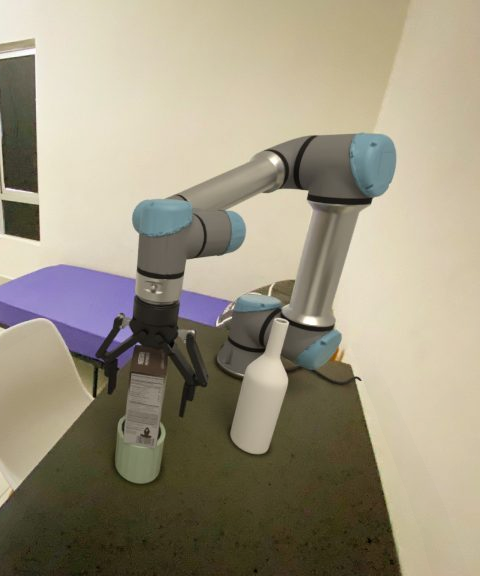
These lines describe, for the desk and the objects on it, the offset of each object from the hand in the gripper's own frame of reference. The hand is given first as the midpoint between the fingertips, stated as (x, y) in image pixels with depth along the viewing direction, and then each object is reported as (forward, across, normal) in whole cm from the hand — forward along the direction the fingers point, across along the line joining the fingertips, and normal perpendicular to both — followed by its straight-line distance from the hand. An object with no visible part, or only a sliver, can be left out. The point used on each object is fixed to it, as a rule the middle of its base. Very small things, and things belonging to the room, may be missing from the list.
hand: (145, 401), depth 62 cm
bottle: (+16, +21, +17) cm, 31 cm away
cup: (+15, 0, 0) cm, 16 cm away
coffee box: (+7, 0, 0) cm, 7 cm away
